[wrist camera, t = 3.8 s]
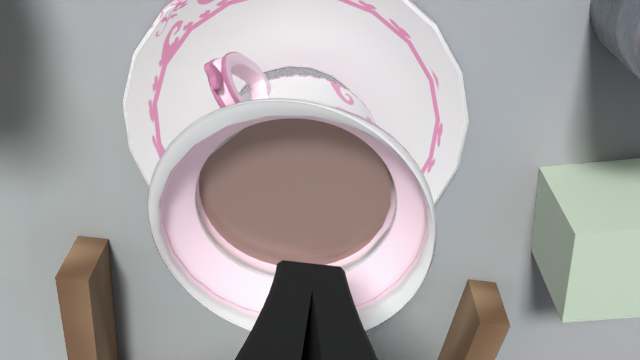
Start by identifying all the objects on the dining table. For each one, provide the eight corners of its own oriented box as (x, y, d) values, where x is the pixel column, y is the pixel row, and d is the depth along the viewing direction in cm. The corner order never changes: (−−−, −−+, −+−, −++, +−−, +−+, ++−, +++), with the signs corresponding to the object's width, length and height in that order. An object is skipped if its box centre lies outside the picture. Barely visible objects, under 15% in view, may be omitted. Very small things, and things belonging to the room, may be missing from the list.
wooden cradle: (495, 282, 25) (510, 326, 23) (441, 413, 30) (449, 457, 28) (78, 236, 24) (55, 277, 22) (95, 379, 29) (78, 423, 27)
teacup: (502, 198, 23) (552, 319, 18) (229, 287, 26) (204, 413, 21) (399, -117, 17) (429, -72, 12) (56, 44, 20) (-41, 137, 14)
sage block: (650, 155, 22) (708, 223, 18) (631, 240, 24) (680, 314, 20) (538, 165, 22) (575, 234, 19) (530, 248, 24) (562, 322, 21)
